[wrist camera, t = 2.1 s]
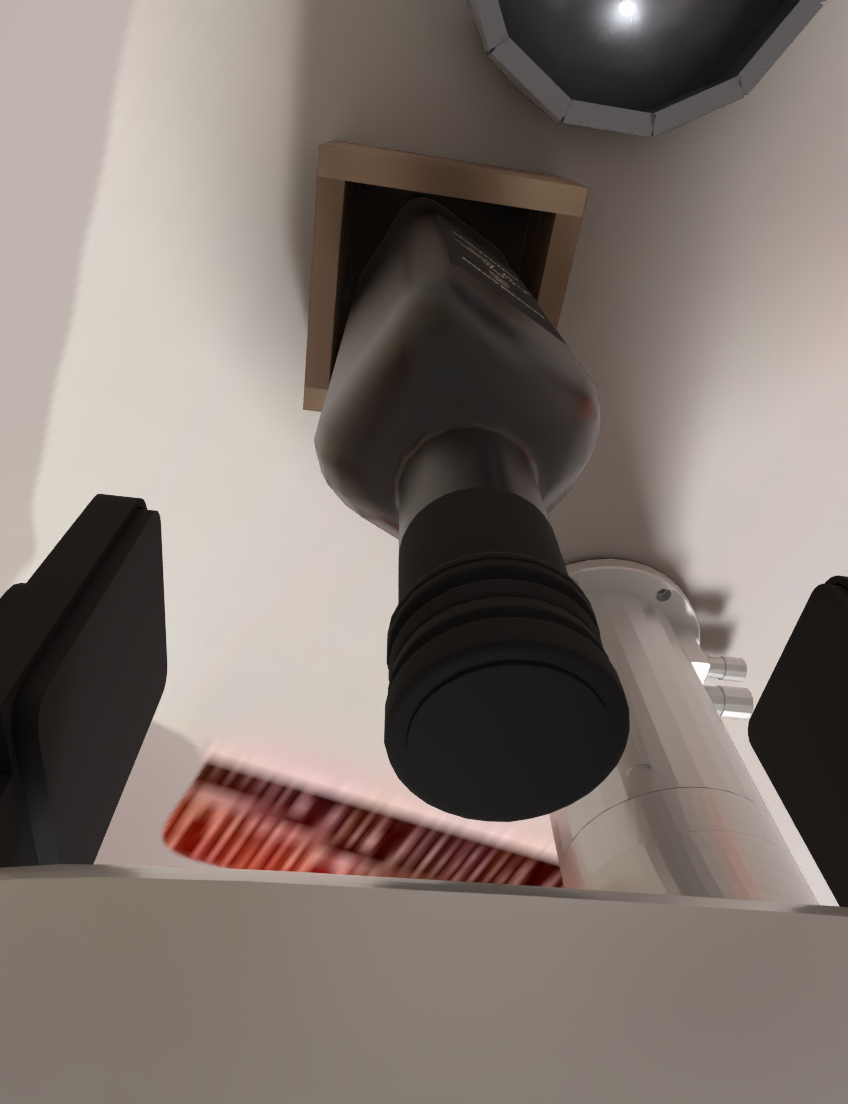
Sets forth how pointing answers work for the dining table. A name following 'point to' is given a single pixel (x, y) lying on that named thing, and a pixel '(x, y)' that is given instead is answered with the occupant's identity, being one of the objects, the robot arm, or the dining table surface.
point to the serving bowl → (636, 55)
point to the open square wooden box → (345, 163)
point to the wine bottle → (473, 523)
